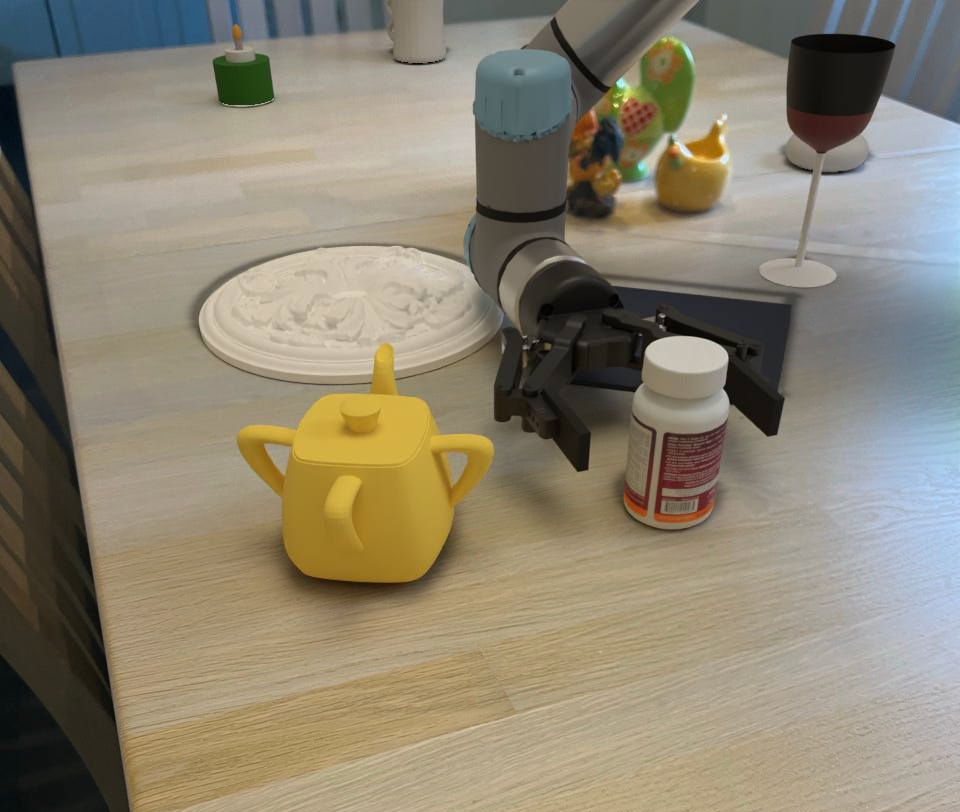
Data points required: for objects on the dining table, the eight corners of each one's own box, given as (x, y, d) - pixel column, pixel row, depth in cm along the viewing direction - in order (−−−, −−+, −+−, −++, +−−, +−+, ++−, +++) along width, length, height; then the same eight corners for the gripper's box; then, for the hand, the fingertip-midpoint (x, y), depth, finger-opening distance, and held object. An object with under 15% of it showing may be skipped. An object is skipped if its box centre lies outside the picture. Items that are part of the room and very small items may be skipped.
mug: (457, 58, 173) (456, -11, 166) (419, 67, 168) (416, -3, 161) (407, 48, 179) (404, -19, 172) (369, 57, 174) (364, -12, 168)
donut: (771, 169, 126) (851, 180, 122) (775, 139, 124) (857, 149, 119) (799, 148, 132) (876, 159, 128) (804, 120, 130) (882, 129, 126)
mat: (791, 308, 94) (792, 304, 94) (774, 409, 80) (775, 404, 80) (580, 286, 99) (581, 282, 98) (529, 377, 84) (529, 373, 84)
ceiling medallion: (177, 282, 100) (170, 250, 98) (442, 242, 108) (441, 211, 106) (234, 409, 81) (227, 372, 78) (553, 348, 88) (554, 313, 86)
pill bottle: (727, 501, 70) (755, 347, 63) (686, 543, 66) (711, 385, 59) (648, 473, 73) (666, 323, 65) (605, 513, 69) (618, 358, 62)
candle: (220, 109, 149) (207, 31, 143) (218, 95, 155) (205, 20, 149) (276, 105, 151) (266, 28, 144) (272, 91, 157) (262, 17, 150)
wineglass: (752, 254, 104) (790, 32, 91) (840, 260, 103) (891, 35, 90) (752, 284, 98) (792, 51, 85) (845, 291, 97) (900, 55, 84)
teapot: (236, 526, 68) (208, 387, 62) (397, 465, 74) (386, 331, 67) (339, 632, 60) (318, 485, 53) (510, 555, 66) (512, 412, 59)
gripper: (697, 329, 85) (838, 452, 70) (411, 374, 80) (498, 518, 65) (709, 239, 80) (864, 351, 65) (406, 280, 75) (498, 413, 60)
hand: (682, 435), depth 65 cm, fingers open, 13 cm apart
